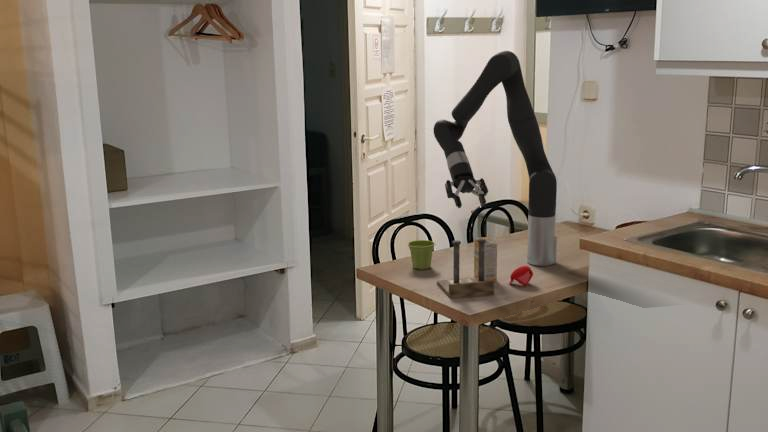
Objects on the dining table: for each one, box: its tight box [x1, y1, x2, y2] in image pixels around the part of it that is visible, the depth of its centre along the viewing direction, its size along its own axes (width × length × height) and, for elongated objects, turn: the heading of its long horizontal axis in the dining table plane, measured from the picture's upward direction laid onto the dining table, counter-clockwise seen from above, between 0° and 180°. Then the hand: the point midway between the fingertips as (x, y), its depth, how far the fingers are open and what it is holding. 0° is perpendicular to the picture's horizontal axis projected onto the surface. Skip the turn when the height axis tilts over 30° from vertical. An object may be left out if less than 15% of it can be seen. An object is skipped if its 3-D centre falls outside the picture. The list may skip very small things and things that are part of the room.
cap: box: [509, 265, 534, 287], centre depth 241 cm, size 8×6×6 cm
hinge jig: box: [436, 239, 495, 299], centre depth 236 cm, size 14×15×17 cm
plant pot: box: [407, 239, 436, 271], centre depth 262 cm, size 9×9×9 cm
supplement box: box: [473, 236, 498, 282], centre depth 247 cm, size 8×5×13 cm, turn 18°
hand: (471, 206), depth 255 cm, fingers open, 8 cm apart
